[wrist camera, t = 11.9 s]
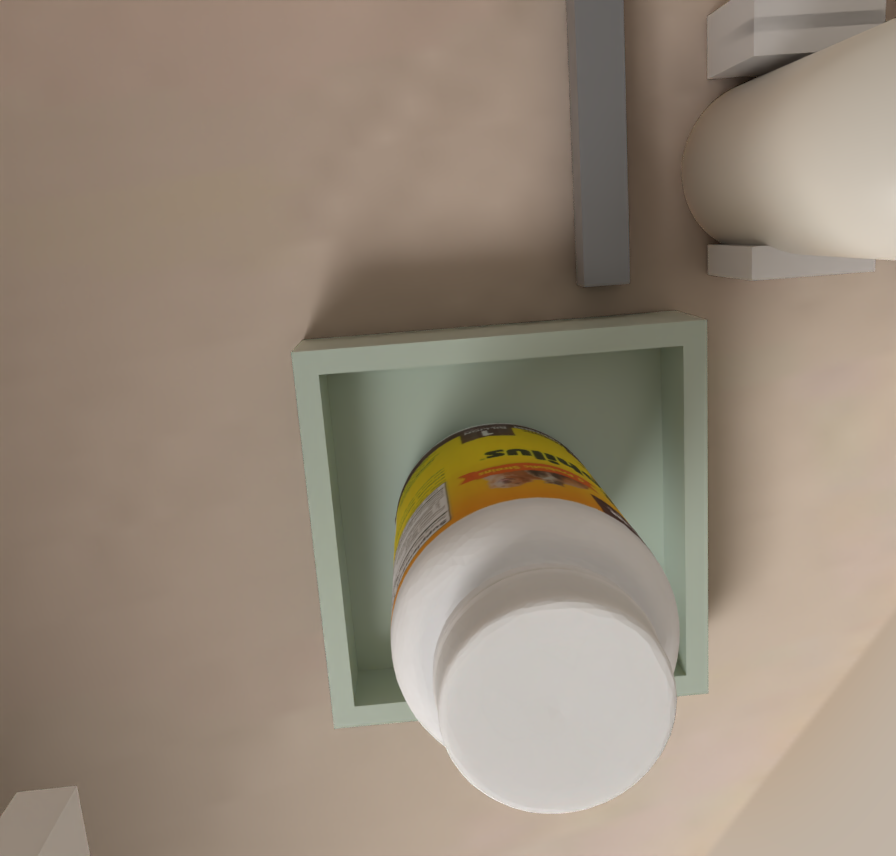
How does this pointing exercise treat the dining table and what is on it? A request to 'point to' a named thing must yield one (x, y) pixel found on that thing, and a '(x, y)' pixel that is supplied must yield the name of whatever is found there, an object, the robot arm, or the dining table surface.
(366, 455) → the tray
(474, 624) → the supplement bottle
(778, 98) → the twin cylinder holder
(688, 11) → the dining table surface
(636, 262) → the dining table surface
